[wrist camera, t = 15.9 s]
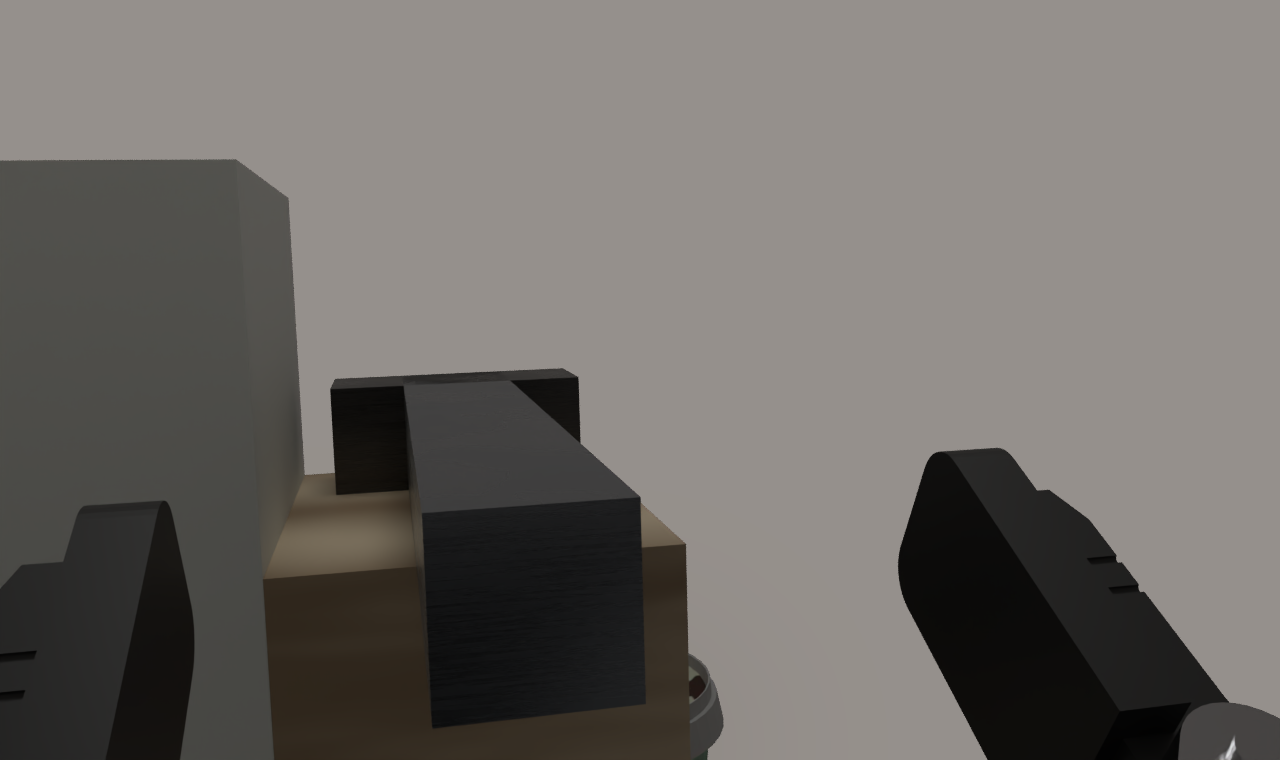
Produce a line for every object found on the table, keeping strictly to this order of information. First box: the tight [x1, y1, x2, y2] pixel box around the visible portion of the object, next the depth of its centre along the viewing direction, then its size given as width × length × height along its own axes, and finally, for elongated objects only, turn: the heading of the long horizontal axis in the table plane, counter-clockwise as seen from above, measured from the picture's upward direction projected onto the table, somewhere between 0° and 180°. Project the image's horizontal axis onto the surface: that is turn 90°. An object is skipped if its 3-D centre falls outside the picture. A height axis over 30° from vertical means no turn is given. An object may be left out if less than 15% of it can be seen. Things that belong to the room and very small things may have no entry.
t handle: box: [330, 368, 646, 729], centre depth 25 cm, size 20×7×3 cm, turn 13°
